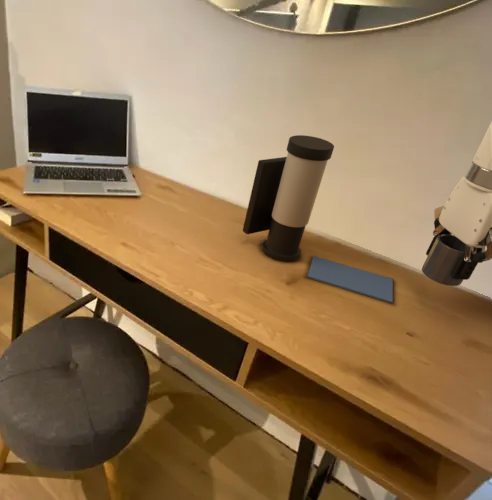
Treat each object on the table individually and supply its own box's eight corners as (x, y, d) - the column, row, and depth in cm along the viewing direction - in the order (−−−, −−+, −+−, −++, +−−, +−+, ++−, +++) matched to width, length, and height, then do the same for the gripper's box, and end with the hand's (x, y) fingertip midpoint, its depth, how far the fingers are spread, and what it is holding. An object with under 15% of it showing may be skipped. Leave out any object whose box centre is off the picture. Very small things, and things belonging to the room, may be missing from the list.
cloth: (392, 280, 97) (392, 278, 97) (391, 303, 90) (392, 301, 90) (313, 257, 103) (313, 255, 102) (307, 277, 95) (307, 275, 95)
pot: (446, 265, 92) (462, 234, 88) (469, 286, 86) (488, 254, 83) (414, 264, 91) (429, 233, 88) (435, 285, 86) (452, 252, 82)
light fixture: (272, 267, 98) (304, 152, 85) (239, 241, 106) (264, 133, 93) (314, 256, 103) (350, 147, 90) (279, 232, 111) (308, 129, 98)
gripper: (555, 202, 72) (497, 295, 81) (477, 160, 86) (435, 243, 96) (511, 199, 71) (458, 294, 80) (439, 157, 85) (401, 241, 95)
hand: (446, 266), depth 88 cm, fingers closed on pot, 6 cm apart
